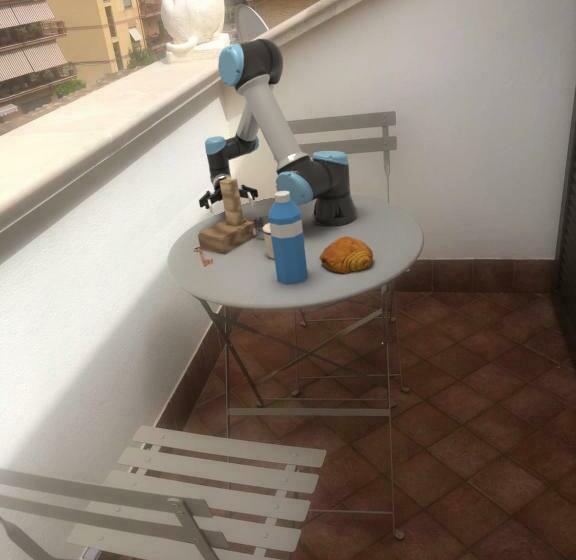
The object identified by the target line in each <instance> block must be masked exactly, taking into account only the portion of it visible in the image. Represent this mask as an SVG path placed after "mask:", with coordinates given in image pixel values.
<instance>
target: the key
mask: <svg viewBox="0 0 576 560" xmlns="http://www.w3.org/2000/svg"><path fill="white" fill-rule="evenodd" d="M198 248H199V249H198ZM195 249H196V250H195ZM193 251H194V252H195V251H196V253H199V256H200V258H201V261H202V264H203V266H204V267H207V266H209V265H212V264H214V262H213V261H214V258H211V259H205V257H204V256H205V255H204V253H203V251H206V250H205V249H201V248H200V246H198V247H195V248H194V249H193Z"/></svg>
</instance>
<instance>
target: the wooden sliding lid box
mask: <svg viewBox="0 0 576 560" xmlns="http://www.w3.org/2000/svg"><path fill="white" fill-rule="evenodd" d="M256 227H257V226H256V221H252V220H248V219H244V223H243V224H241V225H239V226H237V227H236V226H231V225H227V220H226V219H224V220H223V221H221V222H219V223H218V222H217V223H215V224H214V225H212V226H210V227H208V228H206V229H204V230H202V231H200V232H198V234H197V237H198V238H197V239H198V243H199V247H200V248H199V249H200V250H203V249H205V250H204V251H209V252H213V253H217V254H222V255H226V254H229V252H231V251H233V250H235V249H236V248H238V247H240V246H242V245H243V244H245V243H246V242H248V241H251V239H254V238H255V237H254V234H253V229H254V228H256ZM256 229H257V228H256Z"/></svg>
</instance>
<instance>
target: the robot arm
mask: <svg viewBox="0 0 576 560" xmlns="http://www.w3.org/2000/svg"><path fill="white" fill-rule="evenodd" d="M217 65H218V68H217V69H218V73H219V77H220V79H221V81H222V83H223V84H225V85H226V86H228V87H233V88H234V90H235V92H236V93H237V95H238V96H242V97H243V98H245V102H244V103H245V104H244V107H243V110H242V114H241V117H240V119H239V123H238V126H237V129H236V132H235V136H232V137H230V138H227V139H226V138H225V137H224V136H220V135H218V136H211V137H208V138H207V139H206V140H205V142H204V146H205V147H204V148H205V149H204V150H205V153H206V158H207V163H208V169H209V178H210V182H211V183H212V184H211V185H212V187H213V190H214V191H213V192H212V191H210V190H207V191H205V193H204V195H203V196H202V197H201V198H200V199H198V203H199V207H200V208H203V207H205V209H206V210H209V212H210V214H214V211H213V206H212V205H213V204H215V203H216V202H221V201H223V198H222V192H221V187H220V181H222V180H224V179H226V178H232V174H231V168H230V162H229V161H231V160H234V159H236V158H239V157H240V158H241V157H243V156H245V155H249V154H252V153H253V152H255V151H257V150H258V148H259V147H260V143H259V142H260V139H259V137H258V136H257V135H258V132H259V129H260V131H261V133H262V135H263V137H264V140H265V141H266V143H267V146H268V147H269V149H270V152H271V154H272V156H273V157H274V160H275V161H276V163H277V165H276V166H277V167H276V170H275V172H276V174H277V177H276V179H275V184H276V185H275V189H276V192H279V191H289V194H290V199H291V200H292V201H293V202H294V203H295V204H296V205H297V206H298V207H299V206H302V205H306V204H308V203H310V202H312V201H314V200H315V202H314V208H313V211H312V212H313V213H312V217H313V218H312V219H313V221H314V222H315V224H317V225H320V226H326V227H327V226H329V227H333V226H335V227H336V226H343V225H345V224H349V223H352V222H353V221H354V220H356V219H357V217H358V211H357V207H356V205H355V203H354V200H353V198H352V196H351V182H350V164H349V158H348V155H347V154H346V152H344V151H339V150H319V151H315V152H313V154H312V157H310V155H309V154H308V153H305V152H303V151H302V149H301V147H300V145H299V143H298V141H297V140H296V138H295V135H294V133H293V132H292V129H291V127H290V126H289V123H288V121H287V120H286V117H285V115H284V113H283V111H282V109H281V107H280V105H279V103H278V100H277V99H276V96H275V94H274V93H273V91H274V88H275V85H278V84H279V82H280V80H281V77H282V75H283V74H282V73H283V69H284V58H283V55H282V51H281V50H280V47H279V46H278V45H277V44H276V43H275V42H273V41H272V40H270V39H267V38H258V39H255V40H253V39H252V40H249V41H244V42H240V43H237V42H236V43H235V42H234V43H233V44H231V45H228V46H225V47H223V48H222V50H221V51H220V53H219V56H218V63H217ZM238 188H239V194H240V198H241V199H242V198H243V199H248V202H249V204H250V206H251V207H254V201H255V200H256V198H259V193H258V191H259V190H258V189H255V188H254V187H253V188H252V187H249V186H246V185H245V184H241V186H240V187H238Z"/></svg>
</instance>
